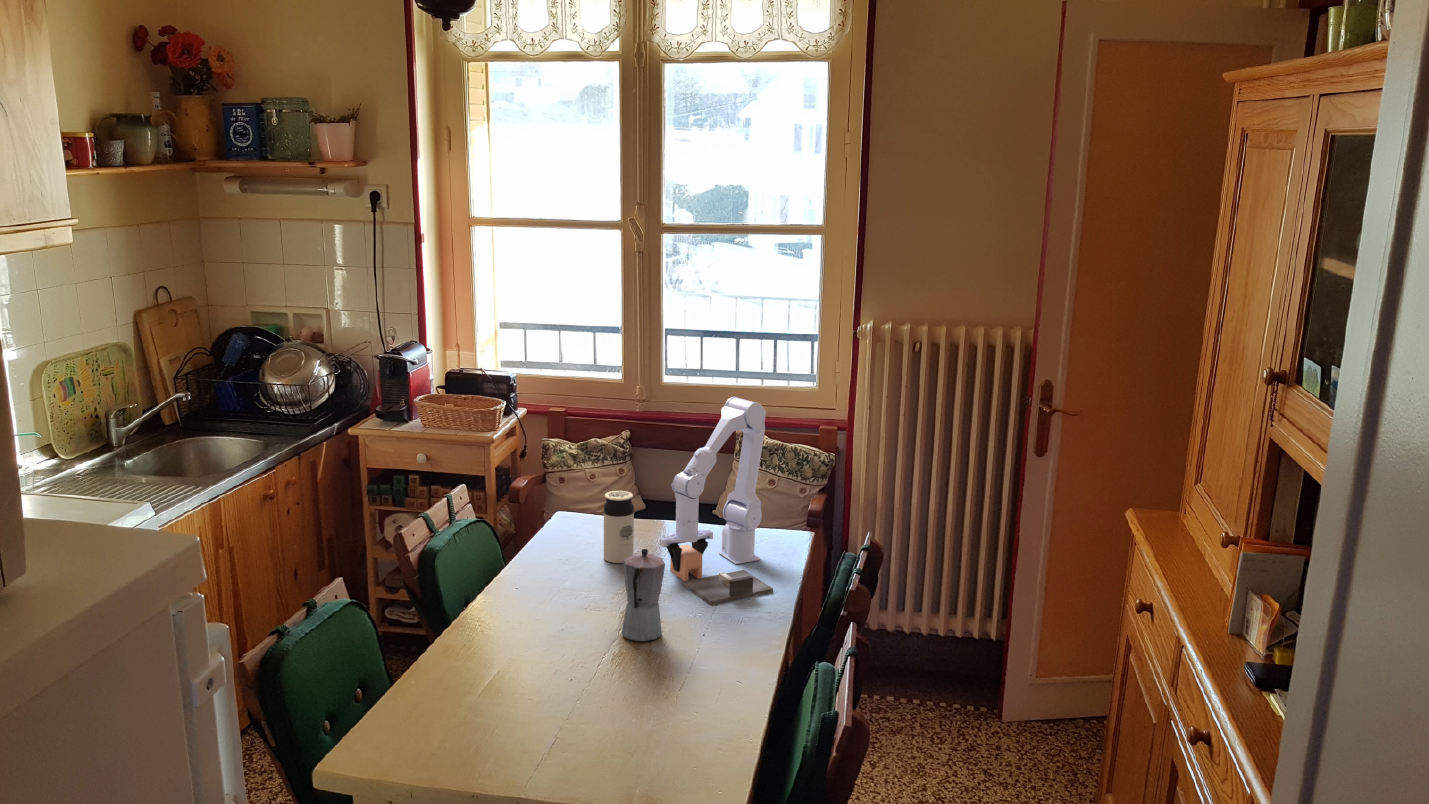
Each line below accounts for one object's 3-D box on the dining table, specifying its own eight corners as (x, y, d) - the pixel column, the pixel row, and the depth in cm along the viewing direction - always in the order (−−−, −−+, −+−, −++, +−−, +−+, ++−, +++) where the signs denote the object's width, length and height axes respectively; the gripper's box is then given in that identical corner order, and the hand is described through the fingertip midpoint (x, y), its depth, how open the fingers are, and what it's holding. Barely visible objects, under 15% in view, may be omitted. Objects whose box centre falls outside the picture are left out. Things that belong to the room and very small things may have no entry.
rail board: (683, 585, 264) (683, 566, 263) (744, 573, 273) (744, 555, 272) (710, 605, 252) (710, 585, 251) (773, 592, 261) (773, 573, 260)
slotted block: (670, 570, 273) (670, 547, 272) (687, 567, 276) (687, 544, 274) (684, 581, 267) (685, 557, 265) (701, 578, 269) (702, 554, 268)
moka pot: (668, 622, 242) (669, 540, 238) (658, 652, 227) (659, 565, 223) (627, 620, 243) (628, 538, 239) (614, 649, 228) (615, 562, 224)
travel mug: (599, 555, 283) (599, 492, 279) (627, 551, 286) (627, 488, 282) (609, 565, 276) (609, 500, 272) (637, 561, 279) (638, 497, 275)
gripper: (669, 527, 261) (668, 578, 264) (719, 519, 268) (718, 569, 271) (656, 519, 267) (655, 569, 270) (706, 511, 274) (704, 560, 277)
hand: (686, 568), depth 271 cm, fingers closed on slotted block, 5 cm apart
